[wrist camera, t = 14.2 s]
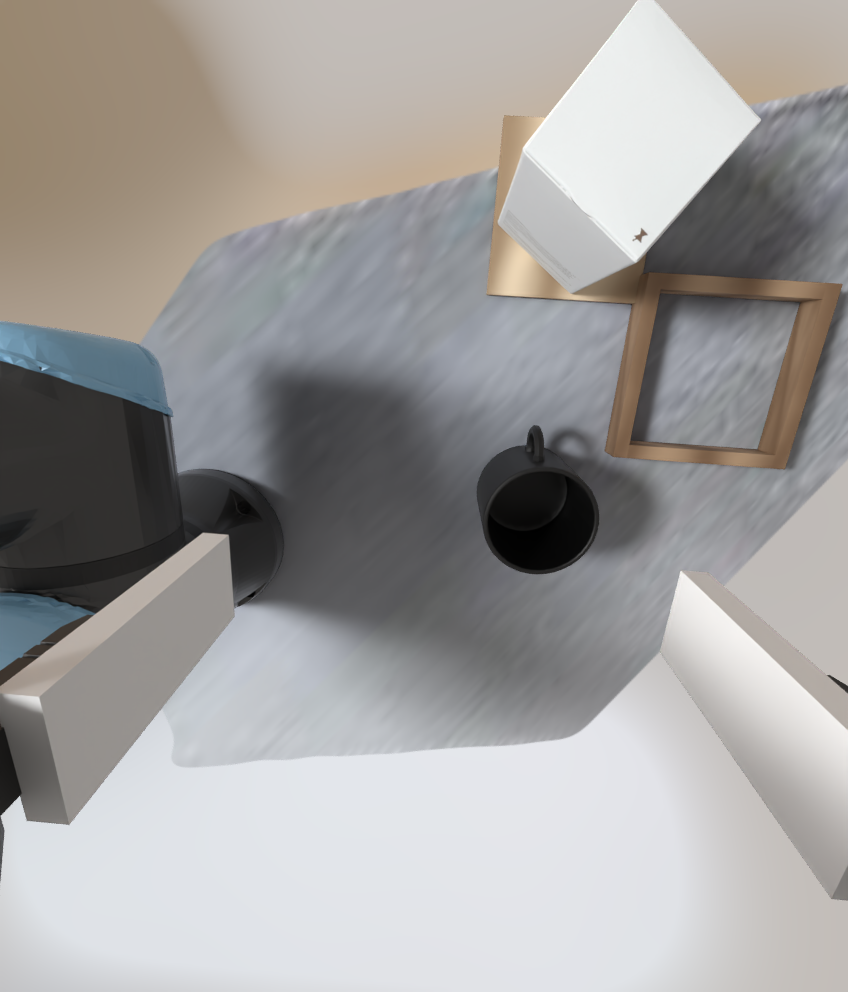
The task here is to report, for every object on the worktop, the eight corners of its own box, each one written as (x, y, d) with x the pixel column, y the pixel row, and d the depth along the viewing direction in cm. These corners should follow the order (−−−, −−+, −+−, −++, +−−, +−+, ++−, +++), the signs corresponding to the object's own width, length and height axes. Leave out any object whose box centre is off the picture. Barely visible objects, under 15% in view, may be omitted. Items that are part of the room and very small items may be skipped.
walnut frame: (604, 451, 45) (613, 456, 42) (637, 276, 40) (649, 272, 38) (766, 462, 44) (784, 469, 42) (819, 287, 40) (842, 283, 37)
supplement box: (650, 205, 38) (772, 120, 24) (570, 297, 40) (637, 269, 26) (570, 122, 36) (649, -23, 22) (493, 222, 39) (519, 149, 25)
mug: (577, 417, 44) (609, 434, 35) (567, 534, 48) (594, 575, 39) (478, 418, 44) (485, 435, 36) (475, 533, 48) (481, 574, 40)
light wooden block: (486, 294, 41) (487, 294, 41) (503, 118, 37) (504, 115, 37) (634, 304, 41) (637, 303, 40) (667, 127, 37) (671, 124, 36)
